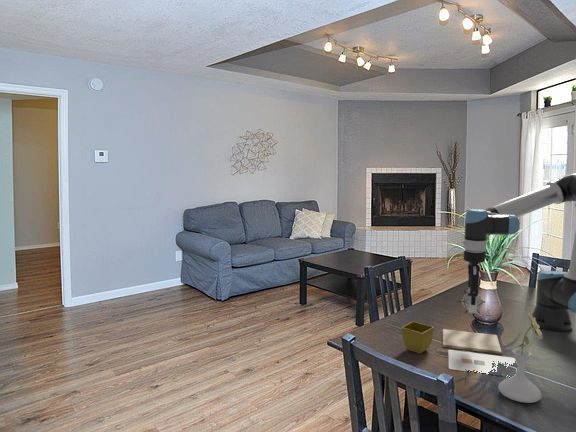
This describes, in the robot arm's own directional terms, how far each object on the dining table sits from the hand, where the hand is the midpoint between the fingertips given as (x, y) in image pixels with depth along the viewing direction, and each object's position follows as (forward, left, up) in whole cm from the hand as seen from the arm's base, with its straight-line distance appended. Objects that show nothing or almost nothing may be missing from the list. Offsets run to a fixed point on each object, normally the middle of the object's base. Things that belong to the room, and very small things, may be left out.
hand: (471, 308), depth 168 cm
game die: (0, 0, -2) cm, 2 cm away
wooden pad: (0, 0, -13) cm, 13 cm away
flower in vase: (-12, +37, -14) cm, 41 cm away
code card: (-3, +18, -13) cm, 23 cm away
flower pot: (+19, +14, -14) cm, 27 cm away
